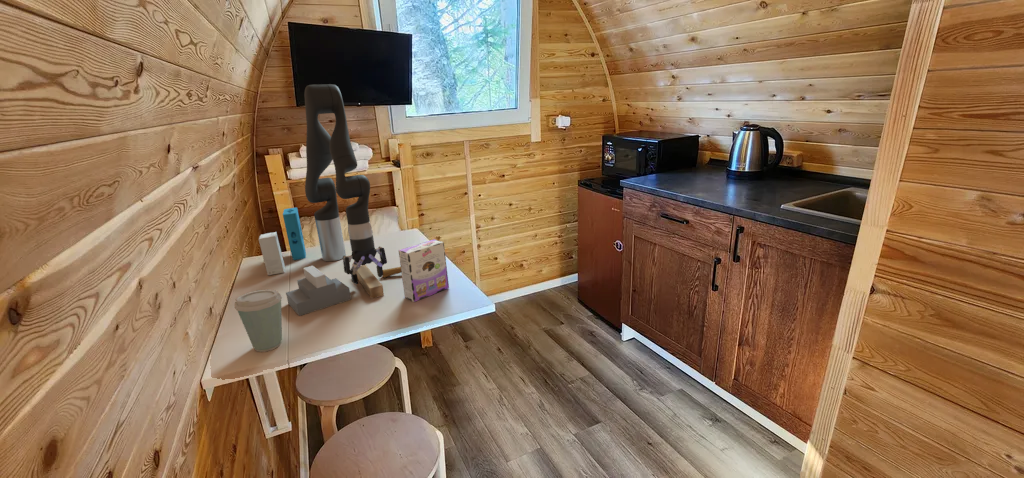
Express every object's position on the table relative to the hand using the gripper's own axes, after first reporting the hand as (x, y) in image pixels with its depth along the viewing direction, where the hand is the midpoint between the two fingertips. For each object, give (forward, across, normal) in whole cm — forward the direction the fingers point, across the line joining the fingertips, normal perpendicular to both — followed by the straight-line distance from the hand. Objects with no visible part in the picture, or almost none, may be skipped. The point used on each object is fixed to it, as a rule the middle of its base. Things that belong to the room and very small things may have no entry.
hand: (368, 280), depth 152 cm
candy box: (+2, -11, +21) cm, 24 cm away
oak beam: (+2, 0, 0) cm, 2 cm away
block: (+2, +8, -54) cm, 55 cm away
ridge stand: (+2, +17, +1) cm, 17 cm away
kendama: (+2, -15, +1) cm, 15 cm away
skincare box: (+2, +20, -42) cm, 47 cm away
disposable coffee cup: (+2, +36, +20) cm, 41 cm away
